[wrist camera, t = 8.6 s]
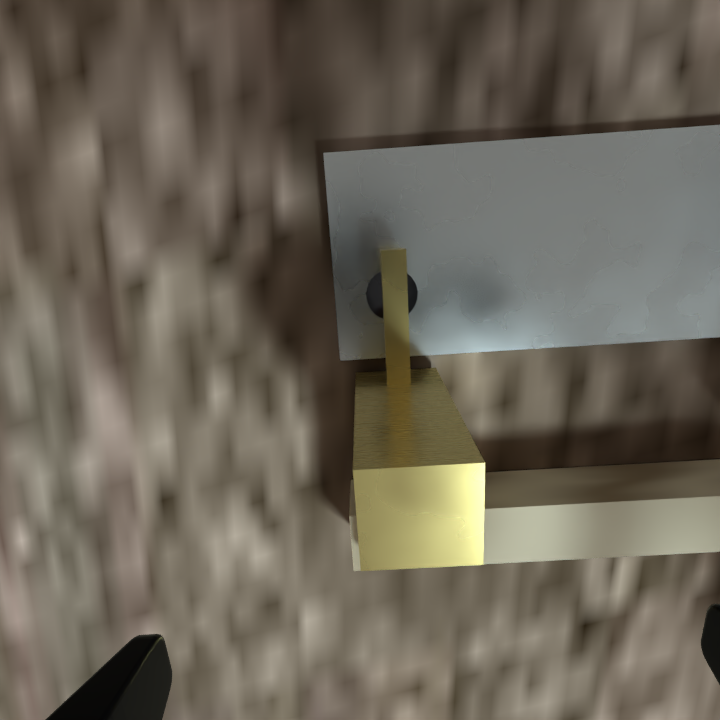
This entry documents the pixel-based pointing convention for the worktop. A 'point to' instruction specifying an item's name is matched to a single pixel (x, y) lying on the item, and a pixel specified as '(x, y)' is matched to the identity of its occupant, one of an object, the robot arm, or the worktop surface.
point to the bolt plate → (530, 240)
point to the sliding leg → (412, 455)
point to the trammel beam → (595, 512)
